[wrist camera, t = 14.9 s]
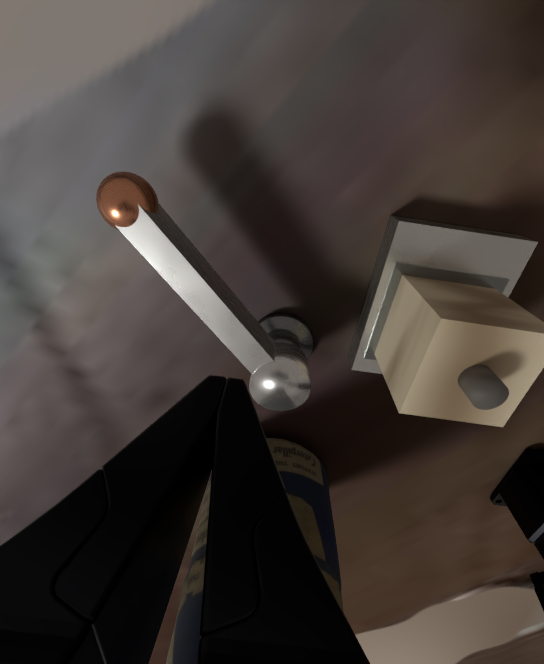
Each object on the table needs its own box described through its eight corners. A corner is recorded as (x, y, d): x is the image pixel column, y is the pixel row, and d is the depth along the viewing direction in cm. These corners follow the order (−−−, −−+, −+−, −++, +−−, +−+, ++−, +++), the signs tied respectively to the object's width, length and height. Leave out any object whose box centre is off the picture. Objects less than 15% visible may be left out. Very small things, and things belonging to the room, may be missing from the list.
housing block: (495, 288, 17) (589, 353, 12) (455, 365, 20) (518, 447, 14) (402, 274, 17) (454, 333, 12) (374, 353, 20) (407, 432, 14)
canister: (224, 415, 25) (111, 880, 9) (344, 441, 25) (429, 913, 10) (206, 491, 29) (112, 882, 14) (308, 511, 30) (327, 904, 15)
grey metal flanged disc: (318, 317, 20) (321, 338, 18) (306, 369, 22) (308, 393, 20) (254, 308, 20) (250, 328, 18) (247, 361, 22) (243, 384, 20)
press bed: (519, 235, 17) (539, 242, 16) (450, 370, 22) (461, 385, 20) (390, 215, 17) (399, 221, 16) (347, 356, 22) (351, 370, 20)
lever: (144, 151, 14) (118, 151, 12) (319, 369, 19) (322, 396, 17) (96, 198, 15) (65, 207, 13) (274, 393, 20) (273, 421, 18)
